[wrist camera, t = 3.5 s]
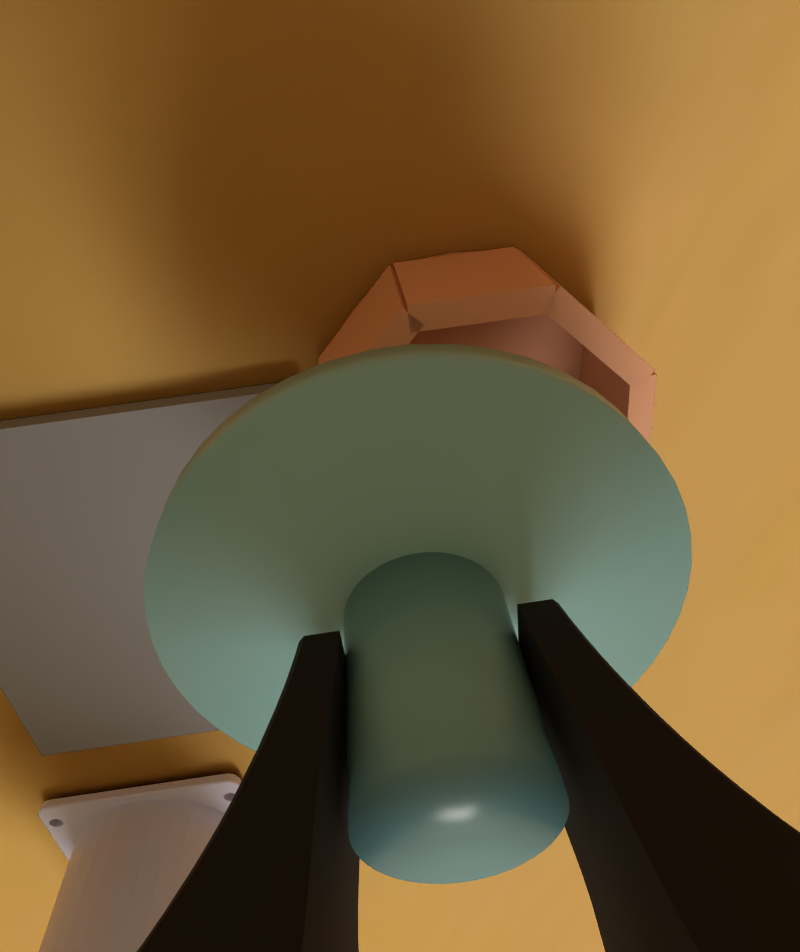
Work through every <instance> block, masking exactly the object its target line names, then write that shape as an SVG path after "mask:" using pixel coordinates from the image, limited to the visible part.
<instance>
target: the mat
mask: <svg viewBox="0 0 800 952" xmlns="http://www.w3.org/2000/svg"><path fill="white" fill-rule="evenodd" d="M279 383H280V382H279ZM276 384H278V383H272V384H265V385H258V386H250V387H243V388H236V389H228V390H221V391H214V392H207V393H199V394H192V395H185V396H178V397H170V398H163V399H156V400H149V401H141V402H134V403H127V404H120V405H112V406H105V407H98V408H91V409H83V410H76V411H69V412H62V413H54V414H47V415H40V416H33V417H25V418H18V419H11V420H3V421H0V687H1V689H2V691H3V692H4V694H5V696H6V697H7V699H8V700H9V702H10V704H11V705H12V707H13V709H14V710H15V712H16V714H17V715H18V717H19V718H20V720H21V722H22V723H23V725H24V727H25V728H26V730H27V732H28V733H29V735H30V736H31V738H32V740H33V741H34V743H35V745H36V746H37V748H38V750H39V751H40V753H41V755H42V756H46V755H52V754H59V753H66V752H73V751H80V750H86V749H93V748H100V747H107V746H114V745H120V744H127V743H134V742H141V741H147V740H154V739H161V738H168V737H175V736H181V735H188V734H195V733H202V732H209V731H215V730H219V729H218V728H216V727H215V726H214V725H213V724H211V723H210V722H209V721H208V720H207V719H206V718H204V717H203V716H202V715H201V714H200V713H199V712H197V711H196V710H195V709H194V708H193V706H192V705H191V704H190V703H189V702H188V701H187V700H186V699H185V697H184V696H183V695H182V694H181V693H180V692H179V691H178V689H177V688H176V686H175V685H174V683H173V682H172V680H171V679H170V677H169V676H168V674H167V673H166V671H165V670H164V668H163V666H162V664H161V661H160V659H159V657H158V655H157V652H156V650H155V648H154V646H153V644H152V640H151V636H150V632H149V628H148V624H147V620H146V615H145V601H144V581H145V572H146V563H147V557H148V554H149V551H150V547H151V544H152V540H153V537H154V534H155V530H156V528H157V525H158V522H159V520H160V517H161V514H162V512H163V509H164V506H165V504H166V501H167V499H168V497H169V495H170V493H171V491H172V489H173V487H174V485H175V483H176V481H177V479H178V477H179V475H180V473H181V472H182V470H183V469H184V467H185V466H186V465H187V463H188V462H189V460H190V459H191V458H192V456H193V455H194V453H195V452H196V451H197V449H198V448H199V446H200V445H201V444H202V443H203V442H204V441H205V440H206V439H207V438H208V437H209V436H210V435H211V434H212V433H213V432H214V431H215V430H216V429H217V428H218V427H219V426H220V425H221V424H222V422H223V421H224V420H226V419H227V418H228V417H229V416H231V415H232V414H233V413H235V412H236V411H237V410H239V409H240V408H241V407H242V406H244V405H245V404H246V403H248V402H249V401H250V400H251V399H253V398H254V397H255V396H257V395H259V394H261V393H262V392H264V391H266V390H268V389H269V388H271V387H273V386H275V385H276Z"/></svg>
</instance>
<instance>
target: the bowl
mask: <svg viewBox="0 0 800 952" xmlns="http://www.w3.org/2000/svg"><path fill="white" fill-rule="evenodd" d="M393 265H394V269H393V268H392V267H391V266H388V267H387V268H386V270H385V271H384V272H383V274H382V275H381V276H380V278H379V279H378V280H377V282H376V283H375V284H374V285H373V287H372V288H371V289H370V291H369V292H368V293H367V294H366V295H365V296H364V297H363V298H362V299H361V300H360V302H359V303H358V304H357V305H356V306H355V307H354V309H353V310H352V311H351V313H350V314H349V316H348V317H347V319H346V320H345V322H344V323H343V325H342V327H341V329H340V330H339V331H338V333H337V334H336V335H335V337H334V338H333V339H332V341H331V342H330V343H329V345H328V346H327V347H326V349H325V350H324V351H323V353H322V354H321V355H320V356H319V358H318V364H317V365H319V364H322V363H324V362H327V361H330V360H334V359H338V358H341V357H345V356H348V355H352V354H356V353H359V352H363V351H367V350H373V349H380V348H387V347H394V346H401V345H408V344H458V345H467V346H476V347H485V348H492V349H496V350H500V351H504V352H509V353H513V354H517V355H521V356H525V357H529V358H531V359H534V360H536V361H539V362H541V363H544V364H546V365H549V366H551V367H554V368H556V369H559V370H561V371H564V372H565V373H567V374H569V375H571V376H572V377H574V378H576V379H577V380H579V381H581V382H583V383H584V384H586V385H588V386H590V387H591V388H593V389H594V390H596V391H597V392H598V393H599V394H601V395H602V396H603V397H604V398H606V399H607V400H608V401H609V402H610V403H612V404H613V405H614V406H615V407H617V408H618V409H619V410H620V411H621V412H622V413H623V414H624V415H625V417H626V418H627V419H628V420H629V421H630V422H631V423H632V424H633V426H634V427H635V428H636V429H637V430H638V431H639V432H640V433H641V435H642V436H643V437H644V438H645V439H646V441H647V442H648V443H649V444H650V440H651V429H652V419H653V408H654V398H655V387H656V377H657V374H656V373H655V372H654V371H655V369H654V368H653V367H651V366H650V365H649V364H648V363H647V362H646V361H645V360H644V359H643V358H641V357H640V356H639V355H638V354H637V353H636V352H635V351H634V350H633V349H631V348H630V347H629V346H628V345H627V344H626V343H625V342H624V341H622V340H621V339H620V338H619V337H618V336H617V335H616V334H615V333H614V332H612V331H611V330H610V329H609V328H608V327H607V326H606V325H605V324H604V323H602V322H601V321H600V320H599V319H598V318H597V317H596V316H595V315H593V314H592V313H591V312H590V311H589V310H588V309H587V308H586V307H584V306H583V305H582V304H581V303H580V302H579V301H578V300H577V299H575V298H574V297H573V296H572V295H571V294H570V293H569V292H568V291H566V290H565V289H564V288H563V287H562V286H561V285H560V284H559V283H557V282H556V281H555V280H554V279H553V278H552V277H551V276H550V275H548V274H547V273H546V272H545V271H544V270H543V269H542V268H541V267H539V266H538V265H537V264H536V263H535V262H534V261H533V260H532V259H530V258H529V257H528V256H527V255H526V254H525V253H524V252H523V251H521V250H520V249H519V248H518V249H516V248H515V247H507V248H500V249H492V250H485V251H461V252H450V253H445V254H440V255H435V256H431V257H428V258H425V259H418V260H411V261H403V262H396V263H393Z"/></svg>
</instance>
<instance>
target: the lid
mask: <svg viewBox="0 0 800 952" xmlns="http://www.w3.org/2000/svg"><path fill="white" fill-rule="evenodd" d="M691 564H692V557H691V533H690V528H689V523H688V518H687V513H686V508H685V505H684V503H683V500H682V498H681V495H680V493H679V490H678V488H677V485H676V483H675V481H674V479H673V477H672V476H671V474H670V473H669V471H668V469H667V468H666V466H665V465H664V463H663V461H662V460H661V458H660V457H659V455H658V454H657V453H656V451H655V450H654V449H653V448H652V447H651V445H650V444H649V443H648V442H647V441H646V439H645V438H644V437H643V436H642V435H641V433H640V432H639V431H638V430H637V429H636V428H635V427H634V426H633V424H632V423H631V422H630V421H629V420H628V419H627V418H626V417H625V415H624V414H623V413H622V412H621V411H620V410H619V409H618V408H617V407H615V406H614V405H613V404H612V403H610V402H609V401H608V400H607V399H606V398H604V397H603V396H602V395H601V394H599V393H598V392H597V391H596V390H594V389H593V388H591V387H590V386H588V385H586V384H584V383H583V382H581V381H579V380H577V379H576V378H574V377H572V376H571V375H569V374H567V373H565V372H564V371H561V370H559V369H556V368H554V367H551V366H549V365H546V364H544V363H541V362H539V361H536V360H534V359H531V358H529V357H525V356H521V355H517V354H513V353H509V352H504V351H500V350H496V349H492V348H485V347H476V346H467V345H458V344H408V345H401V346H394V347H387V348H380V349H373V350H367V351H363V352H359V353H356V354H352V355H348V356H345V357H341V358H338V359H334V360H330V361H327V362H324V363H322V364H319V365H317V366H315V367H312V368H310V369H307V370H305V371H303V372H300V373H298V374H295V375H293V376H291V377H288V378H287V379H285V380H283V381H281V382H280V383H278V384H276V385H275V386H273V387H271V388H269V389H268V390H266V391H264V392H262V393H261V394H259V395H257V396H255V397H254V398H253V399H251V400H250V401H249V402H248V403H246V404H245V405H244V406H242V407H241V408H240V409H239V410H237V411H236V412H235V413H233V414H232V415H231V416H229V417H228V418H227V419H226V420H224V421H223V422H222V424H221V425H220V426H219V427H218V428H217V429H216V430H215V431H214V432H213V433H212V434H211V435H210V436H209V437H208V438H207V439H206V440H205V441H204V442H203V443H202V444H201V445H200V446H199V448H198V449H197V451H196V452H195V453H194V455H193V456H192V458H191V459H190V460H189V462H188V463H187V465H186V466H185V467H184V469H183V470H182V472H181V473H180V475H179V477H178V479H177V481H176V483H175V485H174V487H173V489H172V491H171V493H170V495H169V497H168V499H167V501H166V504H165V506H164V509H163V512H162V514H161V517H160V520H159V522H158V525H157V528H156V530H155V534H154V537H153V540H152V544H151V547H150V551H149V554H148V557H147V563H146V572H145V581H144V601H145V615H146V620H147V624H148V628H149V632H150V636H151V640H152V644H153V646H154V648H155V650H156V652H157V655H158V657H159V659H160V661H161V664H162V666H163V668H164V670H165V671H166V673H167V674H168V676H169V677H170V679H171V680H172V682H173V683H174V685H175V686H176V688H177V689H178V691H179V692H180V693H181V694H182V695H183V696H184V697H185V699H186V700H187V701H188V702H189V703H190V704H191V705H192V706H193V708H194V709H195V710H196V711H197V712H199V713H200V714H201V715H202V716H203V717H204V718H206V719H207V720H208V721H209V722H210V723H211V724H213V725H214V726H215V727H216V728H218V729H219V730H221V731H222V732H224V733H225V734H227V735H228V736H230V737H231V738H233V739H234V740H236V741H237V742H239V743H241V744H243V745H245V746H246V747H248V748H250V749H252V750H254V751H257V749H258V747H259V745H260V742H261V740H262V738H263V735H264V733H265V731H266V729H267V726H268V724H269V722H270V719H271V717H272V715H273V713H274V710H275V708H276V705H277V703H278V700H279V698H280V695H281V693H282V690H283V688H284V685H285V682H286V680H287V677H288V674H289V671H290V669H291V666H292V663H293V660H294V656H295V653H296V650H297V646H298V643H299V641H300V640H301V639H302V638H303V637H304V636H306V635H313V634H320V633H326V632H333V631H340V635H341V639H342V644H343V648H344V652H345V671H346V740H347V787H348V831H349V840H350V843H351V846H352V848H353V850H354V851H355V853H356V854H357V855H358V857H359V858H360V859H361V860H362V861H363V862H365V863H366V864H367V865H368V866H370V867H371V868H373V869H375V870H376V871H378V872H381V873H383V874H385V875H387V876H390V877H393V878H397V879H401V880H405V881H410V882H417V883H428V884H449V883H461V882H467V881H474V880H478V879H482V878H487V877H490V876H494V875H497V874H500V873H503V872H505V871H508V870H511V869H513V868H515V867H517V866H519V865H521V864H523V863H525V862H527V861H529V860H530V859H532V858H534V857H535V856H537V855H538V854H539V853H541V852H542V851H543V850H545V849H546V848H547V847H548V846H549V845H550V844H551V843H552V842H553V841H554V840H555V839H556V838H557V837H558V835H559V834H560V832H561V831H562V830H563V828H564V826H565V824H566V821H567V818H568V815H569V799H568V795H567V791H566V788H565V785H564V782H563V779H562V776H561V773H560V770H559V767H558V763H557V760H556V757H555V754H554V751H553V748H552V745H551V742H550V738H549V735H548V732H547V729H546V726H545V723H544V720H543V717H542V714H541V710H540V707H539V704H538V701H537V698H536V695H535V692H534V689H533V686H532V682H531V679H530V676H529V673H528V670H527V667H526V664H525V661H524V658H523V654H522V651H521V648H520V645H519V642H518V617H517V604H522V603H528V602H535V601H542V600H549V599H553V600H555V601H556V602H558V603H559V604H560V606H561V607H562V608H563V610H564V611H565V612H566V614H567V615H568V616H569V617H570V619H571V620H572V621H573V622H574V624H575V625H576V626H577V627H578V629H579V630H580V631H581V632H582V633H583V635H584V636H585V637H586V638H587V639H588V641H589V642H590V643H591V644H592V645H593V646H594V647H595V649H596V650H597V651H598V652H599V653H600V654H601V656H602V657H603V658H604V659H605V660H606V661H607V662H608V663H609V664H610V666H611V667H612V668H613V669H614V670H615V671H616V672H617V673H618V674H619V675H620V676H621V677H622V678H623V679H624V680H625V681H626V683H627V684H628V685H629V686H630V687H632V686H633V685H634V684H635V683H636V682H637V681H638V679H639V678H640V677H641V676H642V675H643V673H644V672H645V671H646V670H647V669H648V667H649V666H650V665H651V664H652V663H653V661H654V660H655V658H656V657H657V655H658V654H659V652H660V651H661V649H662V648H663V646H664V645H665V643H666V642H667V640H668V638H669V636H670V634H671V632H672V630H673V628H674V626H675V624H676V622H677V619H678V617H679V615H680V612H681V609H682V606H683V603H684V600H685V596H686V593H687V590H688V584H689V577H690V570H691Z"/></svg>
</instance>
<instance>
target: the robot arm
mask: <svg viewBox="0 0 800 952" xmlns="http://www.w3.org/2000/svg"><path fill="white" fill-rule="evenodd" d="M517 617H518V642H519V645H520V648H521V651H522V654H523V658H524V661H525V664H526V667H527V670H528V673H529V676H530V679H531V682H532V686H533V689H534V692H535V695H536V698H537V701H538V704H539V707H540V710H541V714H542V717H543V720H544V723H545V726H546V729H547V732H548V735H549V738H550V742H551V745H552V748H553V751H554V754H555V757H556V760H557V763H558V767H559V770H560V773H561V776H562V779H563V782H564V785H565V788H566V791H567V795H568V799H569V815H568V818H567V821H566V824H565V828H566V831H567V834H568V836H569V839H570V842H571V845H572V847H573V850H574V853H575V855H576V858H577V861H578V863H579V866H580V869H581V872H582V874H583V877H584V880H585V883H586V887H587V890H588V893H589V896H590V899H591V902H592V905H593V909H594V912H595V916H596V919H597V923H598V927H599V930H600V934H601V938H602V941H603V945H604V948H605V952H800V832H799V831H797V830H796V829H794V828H793V827H792V826H790V825H789V824H787V823H786V822H785V821H783V820H782V819H780V818H779V817H778V816H776V815H775V814H774V813H772V812H771V811H770V810H769V809H767V808H766V807H765V806H763V805H762V804H761V803H760V802H758V801H757V800H756V799H755V798H753V797H752V796H751V795H749V794H748V793H747V792H746V791H744V790H743V789H742V788H740V787H739V786H738V785H737V784H736V783H734V782H733V781H732V780H731V779H730V778H728V777H727V776H726V775H725V774H724V773H722V772H721V771H720V770H719V769H718V768H716V767H715V766H714V765H713V764H712V763H710V762H709V761H708V760H707V759H706V758H705V757H704V756H702V755H701V754H700V753H699V752H698V751H697V750H696V749H694V748H693V747H692V746H691V745H690V744H689V743H688V742H687V741H686V740H684V739H683V738H682V737H681V736H680V735H679V734H678V733H677V732H676V731H675V730H674V729H673V728H672V727H671V726H670V725H668V724H667V723H666V722H665V721H664V720H663V719H662V718H661V717H660V716H659V715H658V714H657V713H656V712H655V711H654V710H653V709H652V708H651V707H650V706H649V705H648V704H647V703H646V702H645V701H644V700H643V699H642V698H641V697H640V696H639V695H638V694H637V693H636V692H635V691H634V690H633V689H632V688H631V687H630V686H629V685H628V684H627V683H626V681H625V680H624V679H623V678H622V677H621V676H620V675H619V674H618V673H617V672H616V671H615V670H614V669H613V668H612V667H611V666H610V664H609V663H608V662H607V661H606V660H605V659H604V658H603V657H602V656H601V654H600V653H599V652H598V651H597V650H596V649H595V647H594V646H593V645H592V644H591V643H590V642H589V641H588V639H587V638H586V637H585V636H584V635H583V633H582V632H581V631H580V630H579V629H578V627H577V626H576V625H575V624H574V622H573V621H572V620H571V619H570V617H569V616H568V615H567V614H566V612H565V611H564V610H563V608H562V607H561V606H560V604H559V603H558V602H556V601H555V600H553V599H549V600H542V601H535V602H528V603H522V604H517ZM38 814H39V817H40V818H41V820H42V821H43V823H44V824H45V826H46V827H47V829H48V830H49V832H50V833H51V835H52V837H53V838H54V840H55V841H56V843H57V844H58V846H59V847H60V849H61V850H62V852H63V853H64V855H65V856H66V858H67V859H68V861H69V863H68V866H67V869H66V872H65V875H64V878H63V881H62V884H61V887H60V890H59V893H58V896H57V899H56V902H55V905H54V908H53V911H52V914H51V917H50V920H49V923H48V926H47V929H46V932H45V935H44V938H43V940H42V943H41V946H40V949H39V952H359V949H358V887H359V857H358V855H357V854H356V853H355V851H354V850H353V848H352V846H351V843H350V840H349V831H348V787H347V740H346V671H345V652H344V648H343V644H342V639H341V635H340V631H333V632H326V633H320V634H313V635H306V636H304V637H303V638H302V639H301V640H300V641H299V643H298V646H297V650H296V653H295V656H294V660H293V663H292V666H291V669H290V671H289V674H288V677H287V680H286V682H285V685H284V688H283V690H282V693H281V695H280V698H279V700H278V703H277V705H276V708H275V710H274V713H273V715H272V717H271V719H270V722H269V724H268V726H267V729H266V731H265V733H264V735H263V738H262V740H261V742H260V745H259V747H258V749H257V751H256V753H255V755H254V757H253V759H252V761H251V763H250V765H249V767H248V769H247V771H246V773H245V775H244V777H243V779H242V781H241V779H240V778H239V777H238V776H236V775H235V774H231V773H227V774H219V775H213V776H206V777H199V778H192V779H186V780H179V781H172V782H165V783H159V784H152V785H145V786H138V787H132V788H125V789H118V790H111V791H105V792H98V793H91V794H85V795H78V796H71V797H64V798H58V799H51V800H47V801H45V802H44V803H42V805H41V808H40V810H39V813H38Z"/></svg>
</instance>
